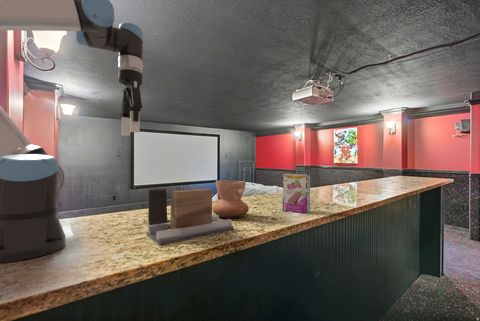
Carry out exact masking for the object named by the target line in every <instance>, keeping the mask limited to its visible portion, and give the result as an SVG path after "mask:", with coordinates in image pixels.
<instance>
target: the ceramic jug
mask: <svg viewBox="0 0 480 321" xmlns="http://www.w3.org/2000/svg"><path fill="white" fill-rule="evenodd" d="M246 184H247V183H246V181H245V180H242V181H241V180H230V179H229V180H226V179H225V180H224V179H223V180H216V181H215V186H216V190H217V193H216V195H217V196H216V197H217V202H216V203H214V204H213V205H212V213H214V214H215V215H219V218H220V217H221V218H226V219H233V218H234V219H235V218H240V217H243V216H245V215H247V213H249V205H248V204H247V203H246V202H244V201H243V200H242V197H243V194H244V193H245V188H246Z"/></svg>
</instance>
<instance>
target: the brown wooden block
mask: <svg viewBox="0 0 480 321" xmlns="http://www.w3.org/2000/svg"><path fill="white" fill-rule="evenodd" d="M212 216H213V189H211V188H194V189H193V188H192V189H181V190H171V191H170V222H171V229H173V228H179V227H185V226H191V225H197V224H202V223H208V222H212Z"/></svg>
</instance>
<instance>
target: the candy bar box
mask: <svg viewBox="0 0 480 321" xmlns="http://www.w3.org/2000/svg"><path fill="white" fill-rule="evenodd" d="M283 210H285V211H284V212H289V211H292V212H291V213H296V212H301V213H300V214H305V213H307V214H309V213H310V212H311V174H297V173H296V174H294V173H285V174H282V211H283ZM309 211H310V212H309ZM308 212H309V213H308Z"/></svg>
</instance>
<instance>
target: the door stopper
mask: <svg viewBox="0 0 480 321" xmlns="http://www.w3.org/2000/svg"><path fill="white" fill-rule="evenodd" d="M167 195H168V194H167V188H149V189H148V205H147V206H148V208H147V209H148V213H147V216H148V217H147V218H148V219H147V221H148V225H155V224H161V223H168V206H167V205H168V202H167V201H168V200H167V198H168V197H167Z"/></svg>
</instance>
